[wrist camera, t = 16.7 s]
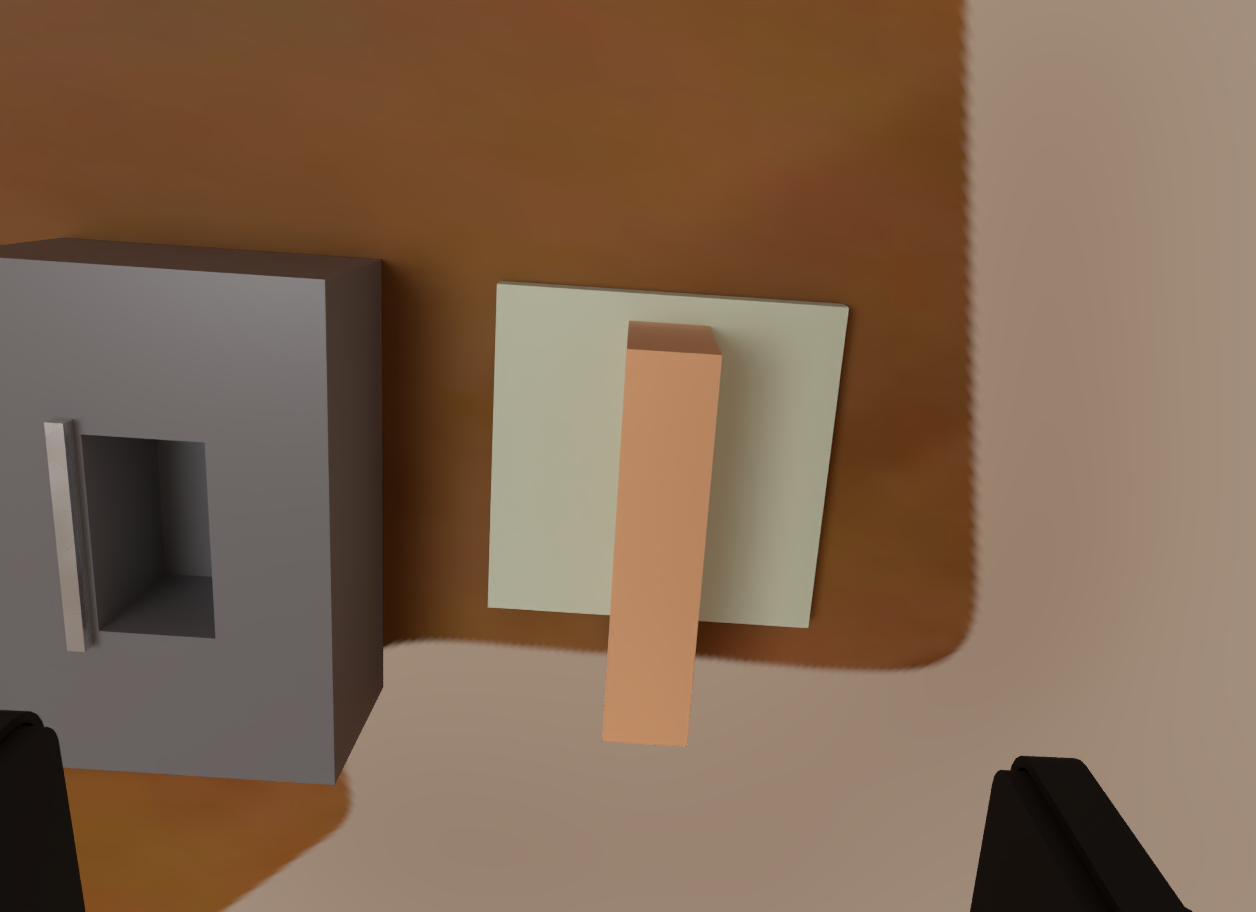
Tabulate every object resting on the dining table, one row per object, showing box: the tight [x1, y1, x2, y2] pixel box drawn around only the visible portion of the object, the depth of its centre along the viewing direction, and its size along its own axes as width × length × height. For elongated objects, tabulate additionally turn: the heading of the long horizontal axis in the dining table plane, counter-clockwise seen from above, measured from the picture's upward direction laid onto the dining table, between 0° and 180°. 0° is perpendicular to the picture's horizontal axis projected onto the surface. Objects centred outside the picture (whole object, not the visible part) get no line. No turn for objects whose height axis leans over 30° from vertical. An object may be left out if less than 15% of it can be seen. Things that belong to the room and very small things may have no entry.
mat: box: [488, 281, 849, 628], centre depth 39 cm, size 13×13×1 cm
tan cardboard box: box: [602, 321, 722, 747], centre depth 36 cm, size 3×6×14 cm
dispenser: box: [0, 238, 383, 785], centre depth 36 cm, size 12×18×8 cm, turn 176°
